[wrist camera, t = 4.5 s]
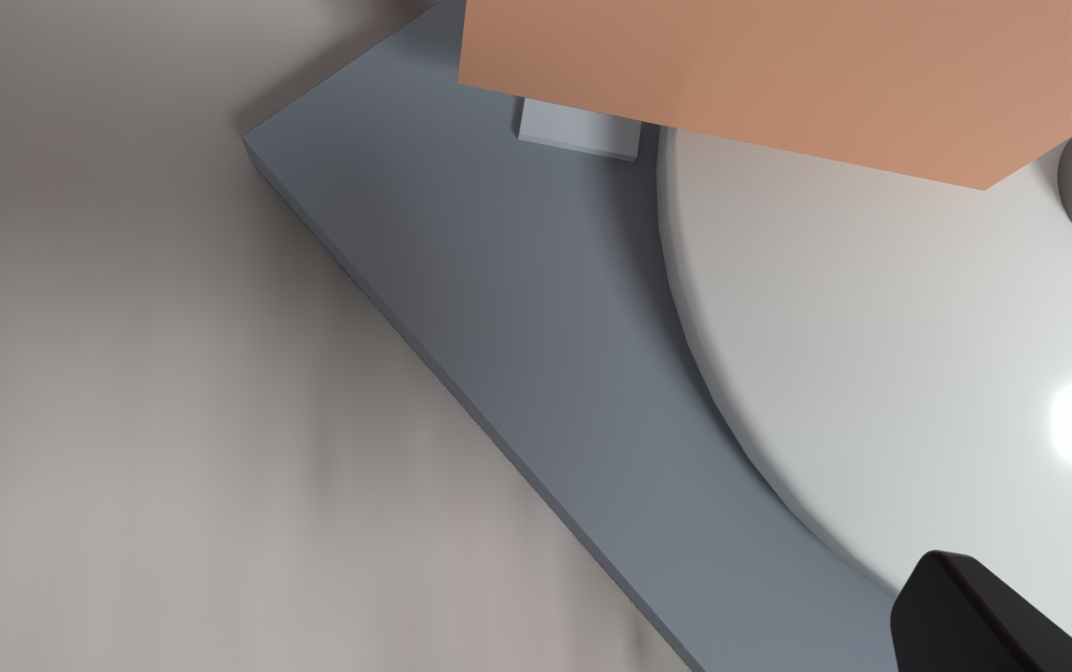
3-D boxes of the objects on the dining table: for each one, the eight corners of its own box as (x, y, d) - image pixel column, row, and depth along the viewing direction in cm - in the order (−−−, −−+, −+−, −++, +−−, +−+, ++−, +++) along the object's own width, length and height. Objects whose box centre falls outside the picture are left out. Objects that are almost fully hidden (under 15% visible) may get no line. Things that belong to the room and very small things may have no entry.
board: (1091, 1131, 16) (1156, 1187, 14) (252, 163, 18) (239, 130, 16) (1634, 314, 22) (1717, 298, 21) (968, -335, 24) (1003, -388, 23)
